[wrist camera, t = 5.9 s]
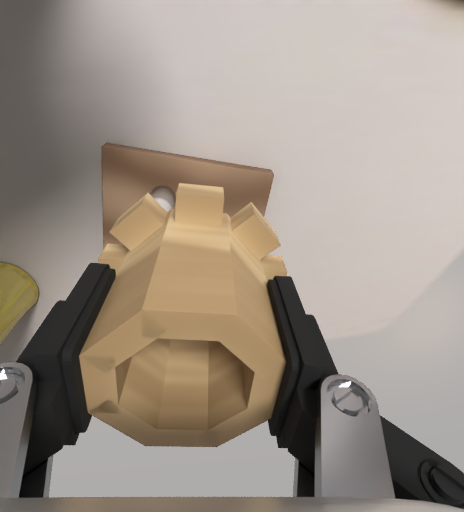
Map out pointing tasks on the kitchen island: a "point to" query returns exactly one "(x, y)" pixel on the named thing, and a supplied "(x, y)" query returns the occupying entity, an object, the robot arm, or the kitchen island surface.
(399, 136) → the kitchen island surface
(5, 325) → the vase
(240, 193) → the board
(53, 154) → the kitchen island surface
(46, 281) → the kitchen island surface
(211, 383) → the oak gear
